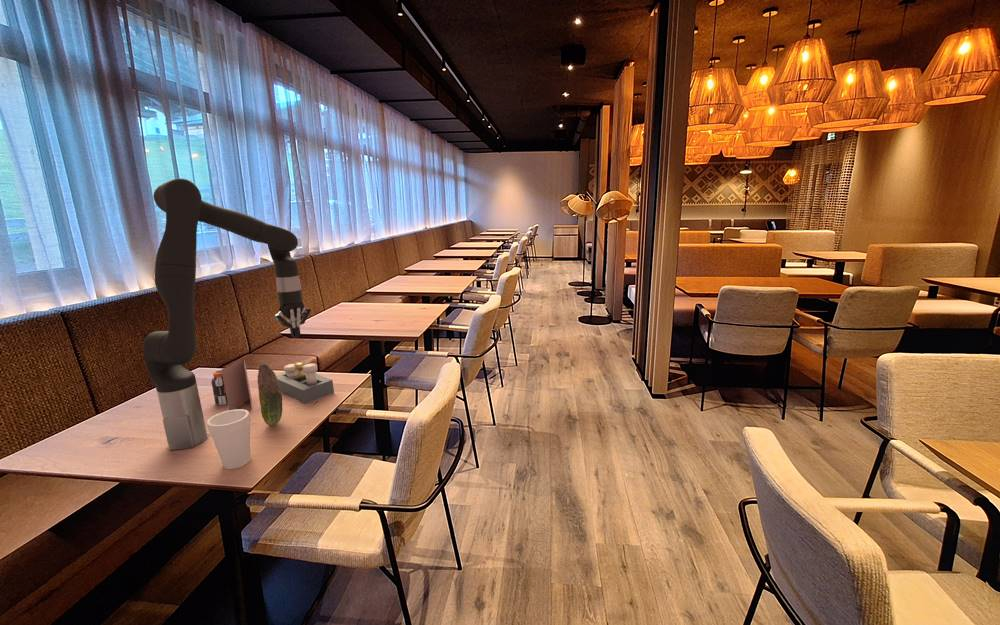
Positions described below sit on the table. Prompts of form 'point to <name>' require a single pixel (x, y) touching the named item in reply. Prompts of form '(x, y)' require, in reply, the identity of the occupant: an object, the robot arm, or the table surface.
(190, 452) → the table surface
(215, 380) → the pill bottle
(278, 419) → the vegetable
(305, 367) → the near cream knob
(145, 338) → the robot arm
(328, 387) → the mount
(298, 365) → the gold tall rounded piece
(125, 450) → the table surface
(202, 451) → the table surface
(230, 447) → the foam cup
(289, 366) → the far cream knob
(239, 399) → the greeting card
